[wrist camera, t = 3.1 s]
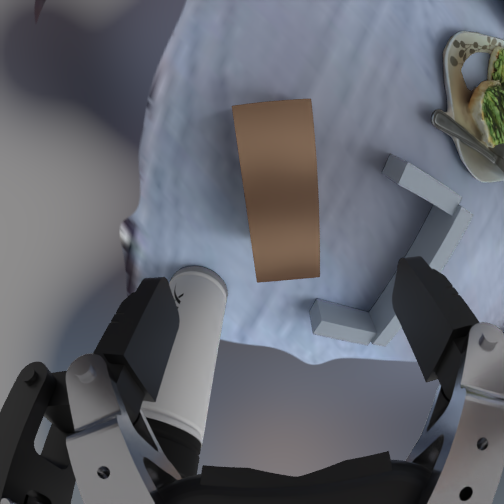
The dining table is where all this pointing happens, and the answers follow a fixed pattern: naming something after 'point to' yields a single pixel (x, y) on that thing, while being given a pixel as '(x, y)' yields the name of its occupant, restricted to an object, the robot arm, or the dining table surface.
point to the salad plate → (475, 106)
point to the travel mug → (189, 368)
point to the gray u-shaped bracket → (425, 245)
